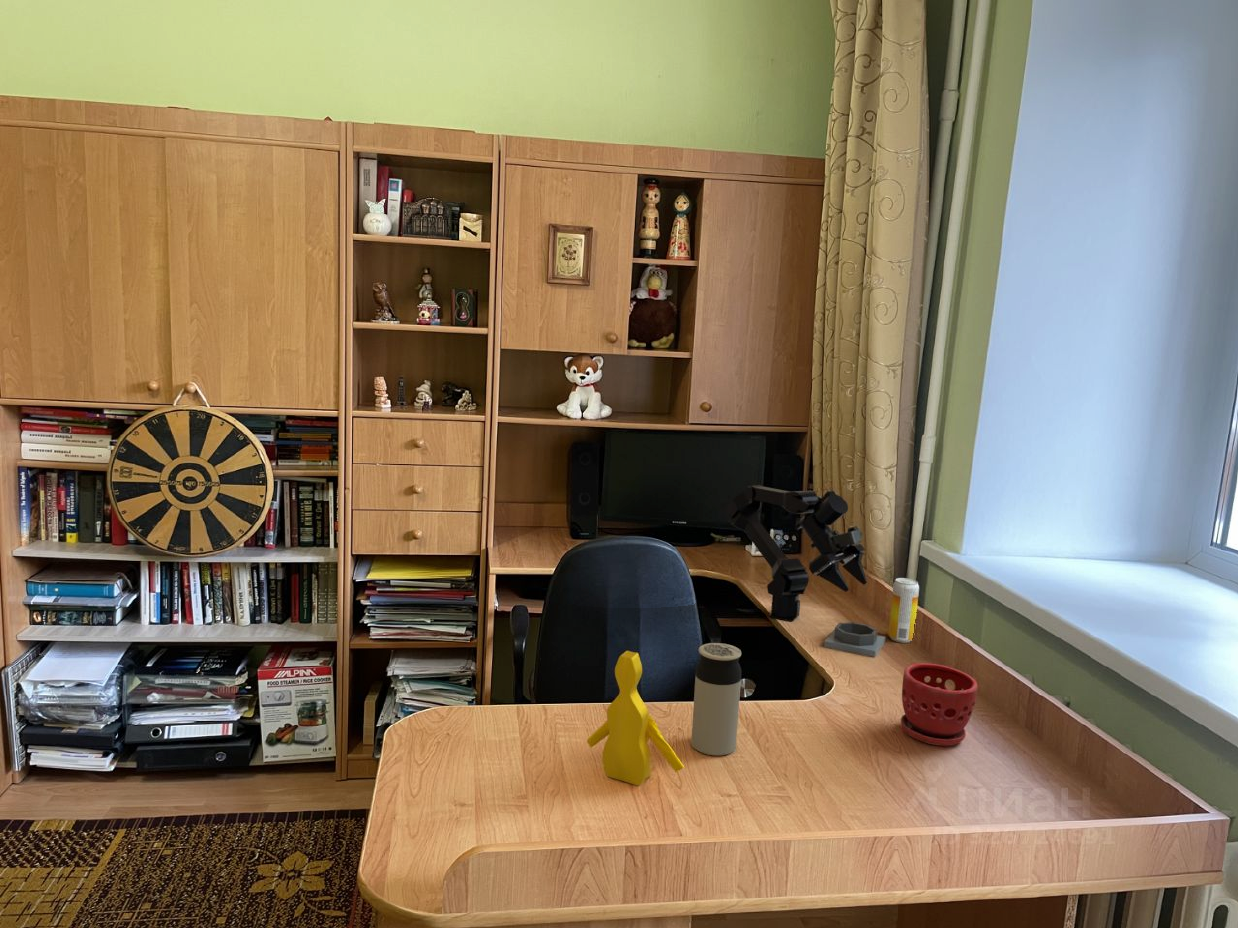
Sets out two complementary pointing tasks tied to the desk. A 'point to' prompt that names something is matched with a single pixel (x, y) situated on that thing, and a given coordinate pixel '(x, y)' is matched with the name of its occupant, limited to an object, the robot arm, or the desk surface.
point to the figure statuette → (630, 729)
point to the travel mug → (716, 699)
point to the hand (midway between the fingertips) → (856, 587)
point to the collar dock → (855, 639)
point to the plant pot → (937, 703)
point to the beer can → (903, 609)
